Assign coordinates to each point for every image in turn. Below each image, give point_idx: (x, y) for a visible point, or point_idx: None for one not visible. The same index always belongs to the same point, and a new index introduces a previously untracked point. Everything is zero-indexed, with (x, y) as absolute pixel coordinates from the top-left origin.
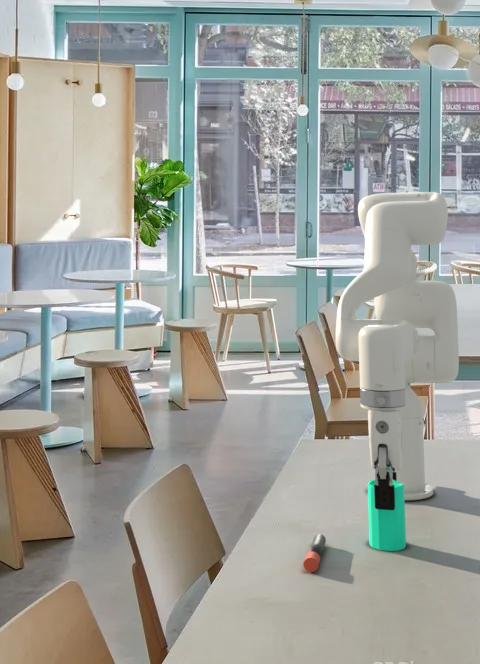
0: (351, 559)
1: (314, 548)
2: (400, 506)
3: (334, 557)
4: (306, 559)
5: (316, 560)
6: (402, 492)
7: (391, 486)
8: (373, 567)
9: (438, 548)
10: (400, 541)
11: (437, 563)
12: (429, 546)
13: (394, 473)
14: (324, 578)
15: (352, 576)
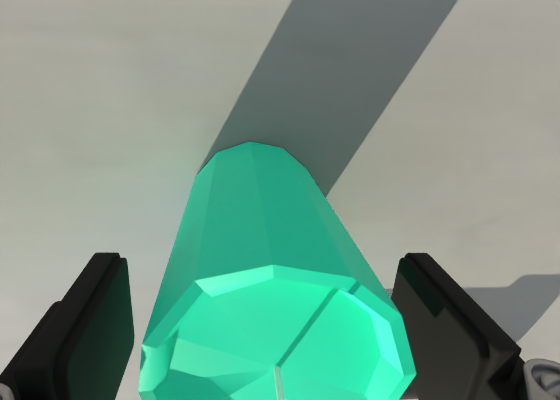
0: None
1: None
2: (330, 220)
3: None
4: None
5: None
6: (335, 247)
7: (551, 366)
8: (460, 234)
9: (255, 11)
10: (300, 167)
11: (429, 31)
12: (236, 49)
13: (52, 375)
14: (529, 333)
15: (523, 279)
